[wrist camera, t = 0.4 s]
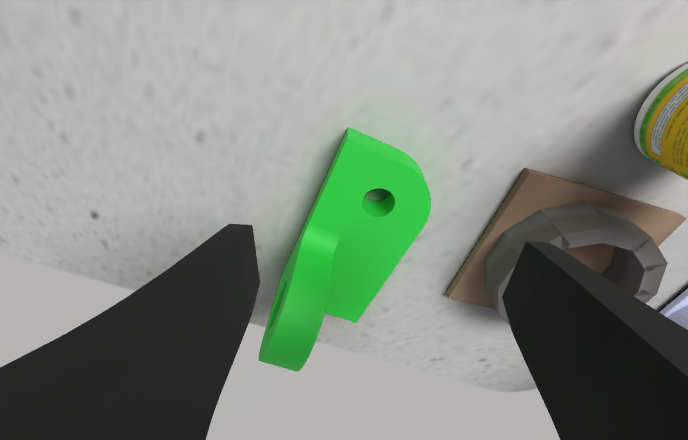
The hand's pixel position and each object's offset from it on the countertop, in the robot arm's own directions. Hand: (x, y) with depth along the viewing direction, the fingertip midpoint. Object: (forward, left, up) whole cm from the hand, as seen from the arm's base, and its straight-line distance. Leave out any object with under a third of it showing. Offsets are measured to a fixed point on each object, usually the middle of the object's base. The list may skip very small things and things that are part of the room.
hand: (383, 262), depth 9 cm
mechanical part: (-1, +6, -11) cm, 13 cm away
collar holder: (-14, +4, -10) cm, 18 cm away
